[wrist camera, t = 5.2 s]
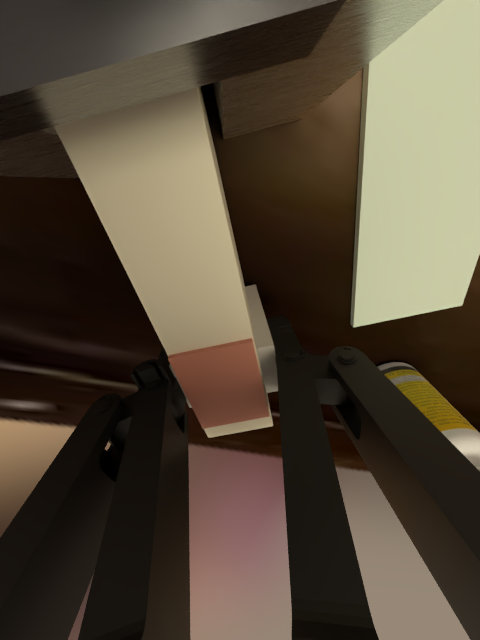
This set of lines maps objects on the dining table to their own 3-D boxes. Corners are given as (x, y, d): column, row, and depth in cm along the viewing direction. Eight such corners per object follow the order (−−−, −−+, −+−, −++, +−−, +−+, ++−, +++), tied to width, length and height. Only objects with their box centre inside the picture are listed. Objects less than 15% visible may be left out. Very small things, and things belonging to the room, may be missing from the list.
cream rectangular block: (140, 112, 11) (-27, -24, 4) (202, 95, 10) (157, -86, 3) (214, 336, 17) (208, 442, 10) (253, 328, 17) (274, 430, 10)
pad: (368, -29, 9) (375, -40, 9) (582, -92, 9) (601, -106, 8) (350, 323, 18) (353, 327, 17) (456, 302, 17) (462, 305, 17)
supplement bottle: (344, 382, 21) (423, 513, 13) (400, 349, 20) (533, 475, 11) (370, 408, 23) (452, 534, 15) (422, 381, 22) (546, 505, 13)
